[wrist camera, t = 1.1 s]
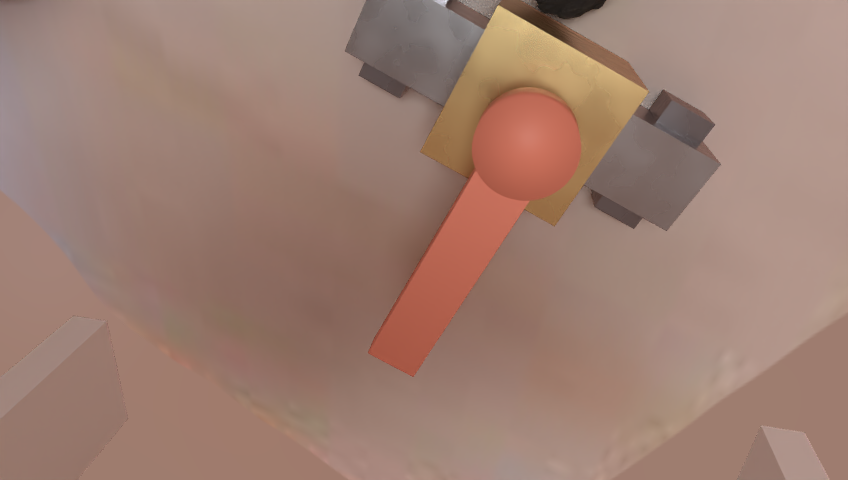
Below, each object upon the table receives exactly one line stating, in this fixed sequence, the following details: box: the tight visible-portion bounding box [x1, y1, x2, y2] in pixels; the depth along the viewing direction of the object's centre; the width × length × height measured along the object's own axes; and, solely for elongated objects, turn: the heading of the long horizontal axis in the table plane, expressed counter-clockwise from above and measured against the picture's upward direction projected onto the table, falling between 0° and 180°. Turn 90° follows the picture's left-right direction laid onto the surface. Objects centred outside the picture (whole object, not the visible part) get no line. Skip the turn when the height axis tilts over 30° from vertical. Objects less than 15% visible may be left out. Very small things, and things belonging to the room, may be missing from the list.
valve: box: [345, 0, 721, 231], centre depth 28 cm, size 18×7×9 cm, turn 63°
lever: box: [368, 87, 581, 377], centre depth 25 cm, size 14×4×2 cm, turn 153°
